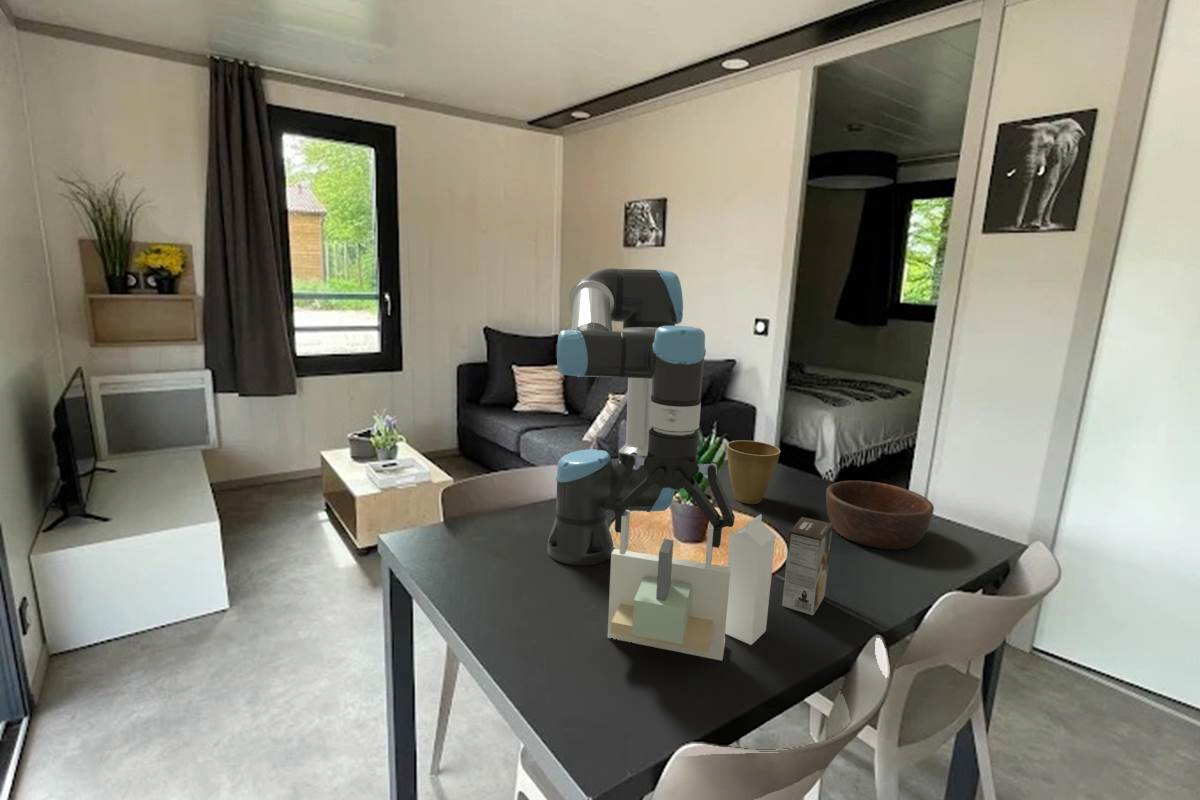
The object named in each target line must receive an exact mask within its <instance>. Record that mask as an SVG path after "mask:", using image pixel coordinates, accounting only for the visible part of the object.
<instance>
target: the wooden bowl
mask: <svg viewBox="0 0 1200 800" xmlns="http://www.w3.org/2000/svg"><path fill="white" fill-rule="evenodd" d="M825 499H826V500H825V501H826V513H827V517H828V520H829V523H832V524H833V529H832V530H834V531H835V532H836V534H838V535H839V534H840V535H839V536H841V537H842V536H843V538H844V539H845V540H848V541H850V540H851V541H850V542H853V543H856V544H857V545H861V546H864V547H869V548H873V547H874V548H875V549H879V550H890V551H892V550H894V551H895V550H896V551H897V550H906V549H909V548H910V549H911V548H912V547H914V546H916V545H917V544H918V543H919V542H920V541H922V538H923V537H924V536H925V535H926V533H927V531H928V529H929V526H930V524H931V521H932V518H933V515H934V512H935V508H934V507H935V506H934V505H933V503H932V502H931V500H929V499H928V498H927V497H925V496H923V495H921V494H919V493H917V492H915V491H914V490H913V491H912V490H909V489H907V488H903V487H900V486H897V485H893V484H888V483H882V482H877V481H869V480H841V481H838V482H834V483H831V484H830V485H829V486H827V488H826V493H825ZM874 548H873V549H874Z"/></svg>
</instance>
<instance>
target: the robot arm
mask: <svg viewBox="0 0 1200 800" xmlns="http://www.w3.org/2000/svg"><path fill="white" fill-rule="evenodd" d="M568 307H569V311H570V313H571V315H572V320H571V329H563V330H560V331H559V333H558V334H557V348H556V349H557V350H556V353H557V355H556V360H557V361H556V364H557V365H556V367H557V371H558V373H559V374H561V375H563V376H573V377H577V378H583V377H585V378H586V377H590V378H592V377H593V378H624V379H627V397H626V398H627V399H626V400H627V402H626V425H625V426H626V431H625V432H626V433H625V443H624V444H623V446H622V447H621V448H619V450H618V458H611V456H610V454H609V452H608V451H606V450H603V449H596V448H594V449H591V448H589V449H588V448H587V449H580V450H575V451H572V452H568V453H567V454H565V455H562V457H560V459H559V460H558V463H557V469H556V476H555V481H556V502H555V519H554V523H553V526H552V528H551V530H550V533H549V536H548V539H547V554H548V556H549V557H550V558H552V559H553V560H554V561H557V562H559V563H562V564H566V565H572V566H592V565H598V564H601V563H603V562H605V561H608V560H609V559H611V553H612V552H613V550H614V541H613V537H612V534H611V531H610V527H609V525H608V523H609V522H608V520H607V515H608V511H613V512H614V518H615V520H614V530H615V532H616V533H619V534H620V542H619V543H620V544H619V550H620V554H623V555H624V554H625V553H626V551H628V549H629V537H630V536H629V535H630V518H631V515H630V514H631V511H633V512H647V513H650V512H665V511H666V510H668V509H669V507H670V506H671V504H672V502H673V498H674V496H675V491H680V490H682V489H684V490H685V492H686V493H687V495H688V496H690V497H691V498H692V500H693V501H694V502H695V503H696V505H697V507H698V508H699V509H700V510H701V512H702V513H703V514H704V516H705V517H706V518H707V520H708V522H709V525H708V528H707V538H706V539H707V540H706V552H705V553H706V554H705V562H704V563H705V568H707V569H710V566H711V564H712V562H713V561H712V560H713V548H717V549H719V547H720V545H721V543H722V542H721V541H722V531H723V530H722V529H724V528H726V527H728V528H732V527H734V525H735V514H734V511H733V509H732V507H731V504H730V502H729V499H728V498H727V495H726V493H725V489H724V488H723V485H722V482H721V480H720V479H719V476H718V464H717V462H715V461H711V462H709V463H699V461H698V445H699V432H698V431H697V430H699V428H700V419H701V407H702V402H701V401H702V400H701V399H702V388H703V377H704V366H705V357H706V354H707V350H706V333H705V331H704V330H703V329H702V328H700V327H694V326H690V325H689V326H687V325H685V326H684V325H678V324H681V323H682V321H683V317H684V316H683V315H684V314H683V312H684V299H683V289H682V285H681V281H680V278H679V277H678V275H677V274H676V273H675V272H673V271H669V270H661V269H639V268H638V269H637V268H636V269H635V268H634V269H633V268H632V269H631V268H616V267H615V268H612V267H611V268H604V269H599V270H596V271H593V272H592V273H589V274H587V275H585V276H584V277H582V278H581V279H580V280H578V281H577V282H576V283H575V285H574V286H573V287H572V289H571V291H570V294H569V298H568ZM613 322H619V323H623V324H622V331H613V325H612V323H613ZM698 473H701V474H702V476H703V478H704V479H707V481H708V485H709V488H710V490H711V492H712V495H713V497H714V500H715V503H716V504H717V506H718V510H719V511H720V513H721V515H720V513H719V512H718V510H717V509H716V508H715V506H714V505H713V504H712V502H711V500H710V499H709V498H708V497H707V495H706V494H705V493H704V491H703V490H702V489H701V487H700V485H699V483H698V482H697V480H696V479H695V477H696V476H697V474H698Z"/></svg>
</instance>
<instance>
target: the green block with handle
mask: <svg viewBox="0 0 1200 800" xmlns="http://www.w3.org/2000/svg"><path fill="white" fill-rule="evenodd" d="M660 546H661V547H660V548H659V551H658V556H659V561H658V577H657V579H655V578H649V577H644V578H643V580H642V582H641V585H640V587H639V589H638V592H637V594H636V597H635V599H634V609H633V627H632V635H636V636H641V637H647V638H652V639H657V640H662V641H668V642H673V643H678V644H683V640H684V636H685V632H686V627H687V623H688V619H689V609H690V596H691V584H686V583H680V582H674V581H671V570H672V558H673V555H674V554H673V553H674V539H668V538H664V539H663V541H662V543H661V545H660Z"/></svg>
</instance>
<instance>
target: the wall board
mask: <svg viewBox="0 0 1200 800" xmlns="http://www.w3.org/2000/svg"><path fill="white" fill-rule="evenodd" d="M658 561H659V555H656V554H650V553H642V552H635V551H630V550H627V551H626V553H625V554H624V555H623V554H620V548H619V549H618V548H613V552H612V553H611V557H610V570H609V571H610V574H609V597H608V598H609V599H608V620H607V621H608V622H607V639H611V638H613V639H612V640H616V639H617V641H622V642H626V643H627V642H628V643H631V642H632V643H633V644H636V645H643V646H646V647H653V648H657V649H660V650H661V649H662V650H667V651H671V652H672V651H673V652H677V653H683V654H687V655H691V656H695V657H696V656H698V657H701V658H707V659H711V660H716V661H723V659H724V653H725V652H724V651H725V645H726V634H725V630H726V618H727V607H728V596H729V584H730V573H731V567H727V566H723V565H717V564H712V563H711V566H710V569H707V568H705V563H706V562H699V561H693V560H686V559H680V558H675V557H672V570H671V581H674V582H680V583H686V584H691V596H690V609H689V619H688V623H687V627H686V632H685V636H684V640H683V644H678V643H673V642H668V641H662V640H657V639H652V638H647V637H641V636H636V635H632V627H633V609H634V599H635V597H636V594H637V592H638V589H639V587H640V585H641V582H642V580H643V578H644V577H649V578H655V579H657V577H658Z"/></svg>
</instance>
